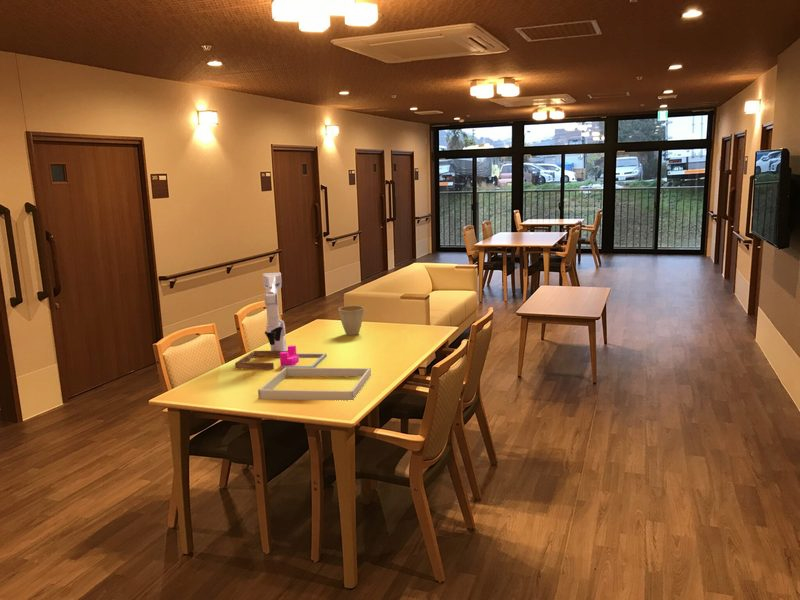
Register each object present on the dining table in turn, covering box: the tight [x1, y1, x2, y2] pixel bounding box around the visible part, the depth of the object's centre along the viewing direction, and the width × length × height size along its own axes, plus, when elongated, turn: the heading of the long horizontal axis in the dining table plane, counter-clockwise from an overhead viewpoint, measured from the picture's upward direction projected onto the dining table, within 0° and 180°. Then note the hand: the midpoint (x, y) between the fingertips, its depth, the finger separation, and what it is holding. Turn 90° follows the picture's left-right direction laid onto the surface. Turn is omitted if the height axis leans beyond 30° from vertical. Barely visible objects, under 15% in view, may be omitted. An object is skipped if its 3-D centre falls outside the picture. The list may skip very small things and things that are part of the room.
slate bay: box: [280, 352, 328, 370], centre depth 327 cm, size 23×16×2 cm
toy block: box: [279, 345, 300, 367], centre depth 327 cm, size 15×6×8 cm, turn 172°
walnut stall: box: [234, 350, 288, 370], centre depth 331 cm, size 23×20×3 cm
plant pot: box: [338, 305, 365, 336], centre depth 381 cm, size 15×15×16 cm
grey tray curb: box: [257, 367, 372, 402], centre depth 287 cm, size 33×42×4 cm
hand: (275, 342), depth 328 cm, fingers open, 7 cm apart
